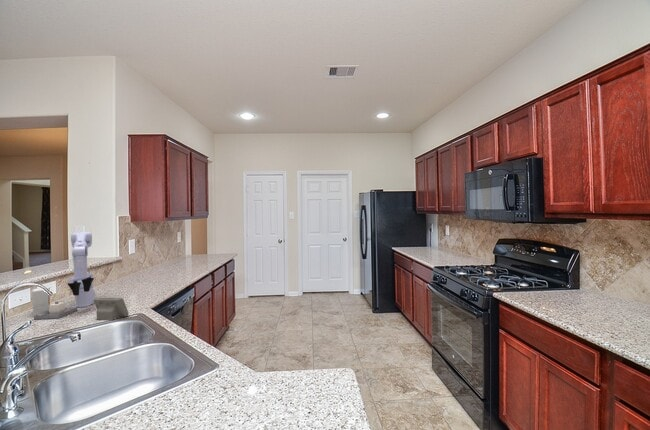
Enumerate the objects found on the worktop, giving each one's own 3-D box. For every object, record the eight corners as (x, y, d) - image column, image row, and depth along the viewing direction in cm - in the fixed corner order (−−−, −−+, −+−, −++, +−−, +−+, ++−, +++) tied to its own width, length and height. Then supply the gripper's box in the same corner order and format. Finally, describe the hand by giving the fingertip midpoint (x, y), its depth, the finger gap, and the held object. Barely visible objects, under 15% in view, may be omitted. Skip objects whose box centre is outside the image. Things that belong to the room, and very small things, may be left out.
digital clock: (130, 315, 151) (130, 295, 151) (112, 322, 142) (112, 300, 142) (108, 313, 156) (108, 293, 156) (90, 319, 148) (89, 298, 148)
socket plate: (54, 311, 161) (54, 307, 161) (77, 310, 162) (77, 306, 162) (34, 319, 149) (33, 314, 149) (59, 318, 150) (58, 313, 150)
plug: (55, 313, 157) (55, 300, 157) (64, 312, 157) (64, 300, 157) (49, 315, 153) (48, 303, 153) (58, 315, 153) (58, 302, 153)
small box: (49, 313, 158) (48, 289, 158) (32, 316, 154) (31, 291, 154) (50, 309, 165) (49, 286, 164) (34, 312, 161) (33, 288, 160)
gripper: (78, 270, 153) (79, 296, 153) (97, 265, 167) (98, 289, 167) (63, 271, 152) (64, 297, 152) (84, 266, 167) (85, 290, 167)
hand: (81, 293), depth 160 cm, fingers open, 7 cm apart
